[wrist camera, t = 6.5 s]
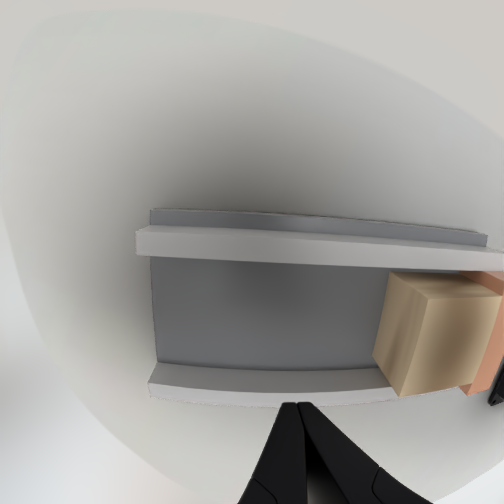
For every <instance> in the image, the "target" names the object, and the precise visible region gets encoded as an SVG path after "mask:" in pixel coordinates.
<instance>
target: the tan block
mask: <svg viewBox="0 0 504 504" xmlns="http://www.w3.org/2000/svg"><path fill="white" fill-rule="evenodd" d="M501 299H502V296H501V295H499V294H498V293H496V292H494V291H492V290H490V289H488V288H486V287H484V286H483V285H481V284H479V283H477V282H475V281H473V280H471V279H469V278H467V277H465V276H463V275H461V274H458V273H422V272H391V271H390V272H389V278H388V284H387V289H386V295H385V300H384V305H383V310H382V315H381V319H380V324H379V328H378V333H377V337H376V341H375V345H374V349H373V353H372V357H373V358H374V360H375V361H376V363H377V364H378V366H379V367H380V369H381V371H382V372H383V374H384V375H385V377H386V378H387V380H388V381H389V383H390V385H391V386H392V388H393V389H394V391H395V392H396V394H397V396H398V397H406V396H412V395H418V394H423V393H429V392H434V391H439V390H444V389H449V388H453V387H458V386H462V385H466V384H470V383H473V381H474V378H475V376H476V374H477V371H478V369H479V366H480V364H481V361H482V359H483V356H484V353H485V351H486V348H487V345H488V342H489V339H490V336H491V333H492V330H493V327H494V324H495V321H496V317H497V314H498V310H499V307H500V303H501Z"/></svg>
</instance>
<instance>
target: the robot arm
mask: <svg viewBox="0 0 504 504" xmlns="http://www.w3.org/2000/svg"><path fill="white" fill-rule="evenodd" d="M501 402H504V369H503V371H502V374H501V376H500V378H499V381H498V383H497V385H496V387H495V389H494V391H493V393H492V395H491V397H490V399H489V402H488V404H489V405H490V406H493V405H496V404H499V403H501ZM237 504H433V503H431V502H429V501H428V500H426V499H424V498H423V497H421V496H420V495H418V494H416V493H415V492H413V491H412V490H410V489H409V488H407V487H406V486H404V485H403V484H401V483H400V482H399V481H398V480H396V479H395V478H394V477H392V476H391V475H390V474H389V473H388V472H386V471H385V470H384V469H383V468H382V467H379V465H378V464H377V463H376V462H375V461H374V460H372V459H371V458H370V457H369V456H368V455H367V454H366V453H365V452H364V451H362V450H361V449H360V448H359V447H358V446H357V445H356V444H355V443H354V442H353V441H351V440H350V439H349V438H348V437H347V436H346V435H345V434H344V433H343V432H342V431H341V430H340V429H338V428H337V427H336V426H335V425H334V424H333V423H332V422H331V421H330V420H329V419H328V418H327V417H326V416H325V415H324V414H323V413H322V412H321V411H320V410H319V409H318V408H317V407H315V406H314V405H313V404H312V403H311V402H297V403H296V402H283V403H282V404H281V407H280V410H279V412H278V415H277V417H276V420H275V422H274V425H273V427H272V430H271V432H270V435H269V437H268V439H267V442H266V444H265V447H264V449H263V451H262V454H261V456H260V458H259V461H258V463H257V465H256V467H255V470H254V472H253V474H252V476H251V479H250V480H249V482H248V485H247V487H246V489H245V491H244V493H243V494H242V496H241V498H240V500H239V502H238V503H237Z"/></svg>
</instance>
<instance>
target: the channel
mask: <svg viewBox="0 0 504 504" xmlns="http://www.w3.org/2000/svg"><path fill="white" fill-rule="evenodd" d="M487 236H488V235H485V234H481V233H477V232H470V231H462V230H454V229H446V228H437V227H429V226H420V225H410V224H401V223H391V222H380V221H370V220H358V219H347V218H334V217H321V216H307V215H293V214H277V213H259V212H240V211H218V210H191V209H153V210H150V225H149V226H147V227H144V228H142V229H140V230H138V231H135V245H136V255H143V256H151V284H152V303H153V318H154V330H155V342H156V352H157V361H158V362H157V365H156V367H155V369H154V371H153V373H152V375H151V377H150V379H149V381H148V388H149V394H150V397H152V398H158V399H165V400H173V401H181V402H189V403H199V404H210V405H223V406H240V407H281V404H282V403H283V402H296V403H297V402H311V403H312V404H313V405H314V406H315V407H321V406H338V405H351V404H362V403H371V402H380V401H388V400H395V399H402V398H408V397H414V396H420V395H426V394H431V393H436V392H441V391H446V390H450V389H455V388H460V389H461V390H462V391H463V392H464V393H465V394H466V395H471V394H475V393H478V392H481V391H485V390H488V389H489V388H490V386H491V384H492V381H493V379H494V377H495V375H496V372H497V370H498V368H499V365H500V363H501V360H502V358H503V355H504V272H503V271H504V253H502V252H499V251H497V250H494V249H491V248H488V247H486V243H487ZM390 271H391V272H422V273H458V274H461V275H463V276H465V277H467V278H469V279H471V280H473V281H475V282H477V283H479V284H481V285H483V286H484V287H486V288H488V289H490V290H492V291H494V292H496V293H498V294H499V295H501V296H502V299H501V303H500V307H499V310H498V314H497V317H496V321H495V324H494V327H493V330H492V333H491V336H490V339H489V342H488V345H487V348H486V351H485V353H484V356H483V359H482V361H481V364H480V366H479V369H478V371H477V374H476V376H475V378H474V381H473V383H470V384H466V385H462V386H458V387H453V388H449V389H444V390H439V391H434V392H429V393H423V394H418V395H412V396H406V397H398V396H397V394H396V392H395V391H394V389H393V388H392V386H391V385H390V383H389V381H388V380H387V378H386V377H385V375H384V374H383V372H382V371H381V369H380V367H379V366H378V364H377V363H376V361H375V360H374V358H373V357H372V353H373V349H374V345H375V341H376V337H377V333H378V328H379V324H380V319H381V315H382V310H383V305H384V300H385V295H386V289H387V284H388V278H389V272H390Z"/></svg>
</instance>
